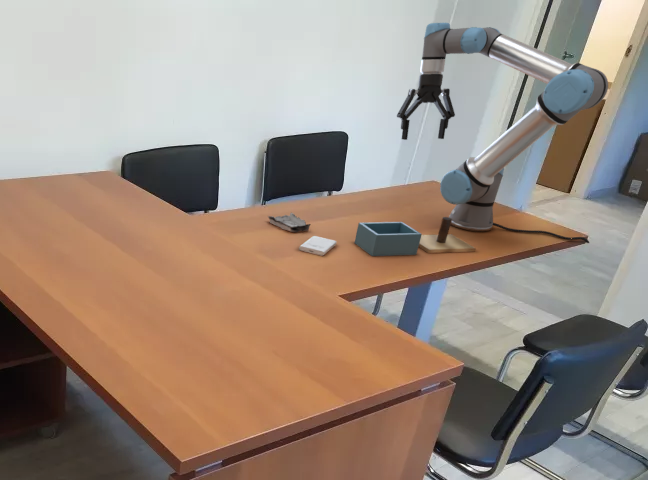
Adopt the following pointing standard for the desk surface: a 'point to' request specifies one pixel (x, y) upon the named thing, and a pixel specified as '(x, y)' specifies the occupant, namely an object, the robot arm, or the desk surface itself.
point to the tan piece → (444, 241)
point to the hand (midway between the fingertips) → (422, 139)
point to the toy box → (387, 238)
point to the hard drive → (317, 245)
